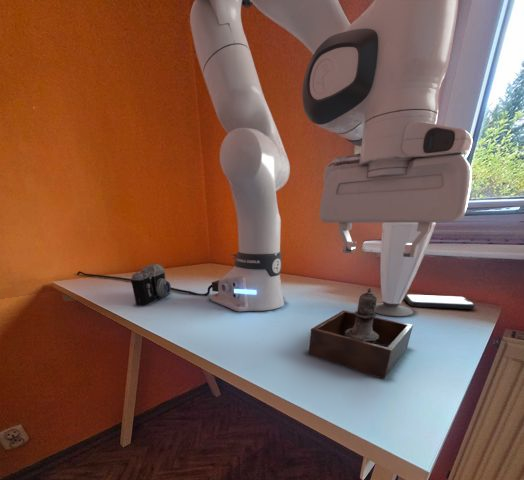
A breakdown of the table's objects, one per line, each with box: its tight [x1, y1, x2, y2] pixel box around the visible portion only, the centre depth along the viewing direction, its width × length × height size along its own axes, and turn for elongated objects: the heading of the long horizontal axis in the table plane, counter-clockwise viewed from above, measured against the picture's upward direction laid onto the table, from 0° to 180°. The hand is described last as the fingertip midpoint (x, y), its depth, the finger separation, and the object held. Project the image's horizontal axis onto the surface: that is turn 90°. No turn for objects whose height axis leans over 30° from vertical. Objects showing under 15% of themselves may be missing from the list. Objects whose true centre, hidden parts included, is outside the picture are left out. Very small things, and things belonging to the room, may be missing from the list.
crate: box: [308, 310, 414, 379], centre depth 50 cm, size 14×14×5 cm
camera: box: [130, 263, 172, 307], centre depth 80 cm, size 15×7×10 cm, turn 171°
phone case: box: [404, 294, 476, 310], centre depth 78 cm, size 9×2×16 cm
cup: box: [374, 223, 437, 318], centre depth 69 cm, size 12×12×22 cm
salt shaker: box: [344, 287, 379, 344], centre depth 48 cm, size 6×6×12 cm
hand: (377, 254), depth 43 cm, fingers open, 8 cm apart
